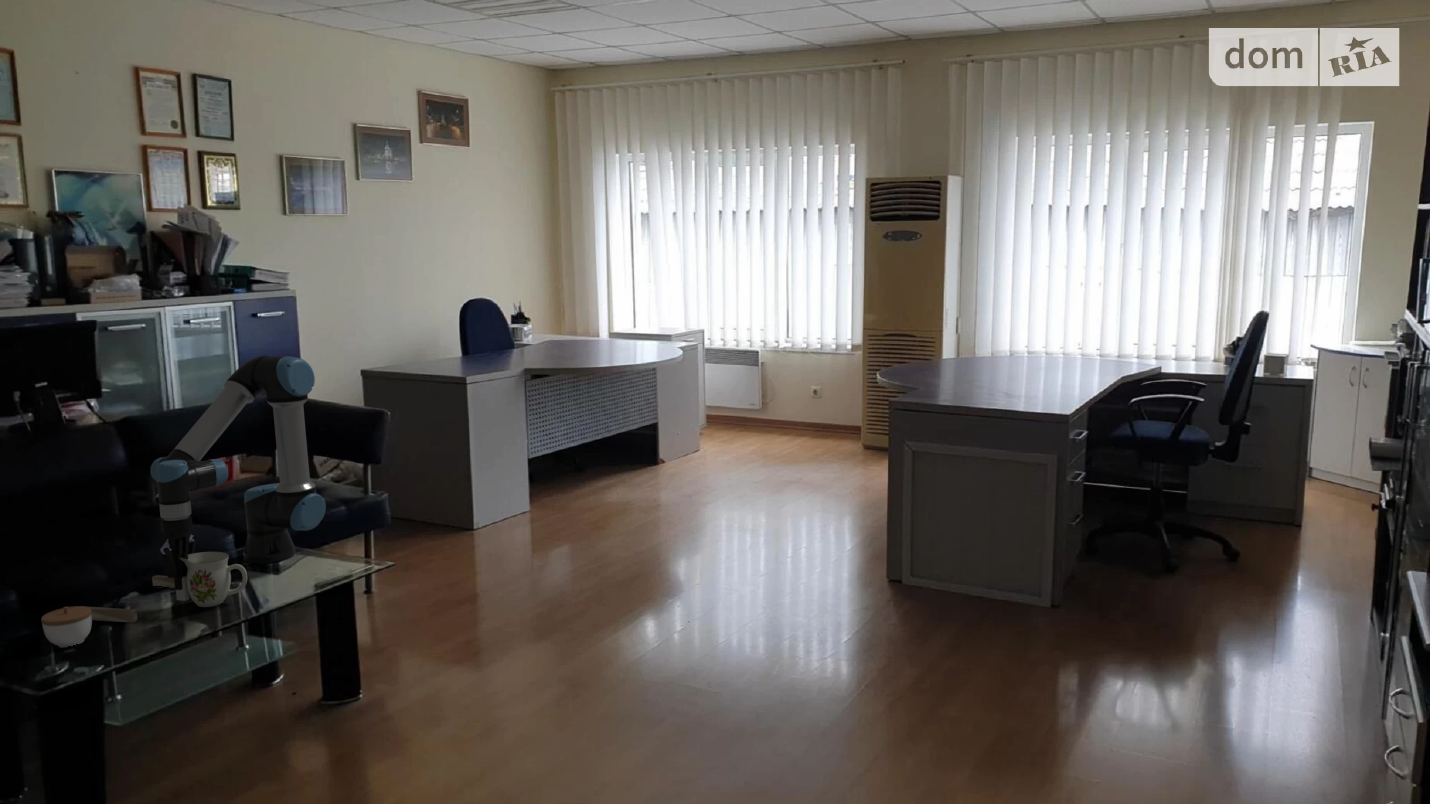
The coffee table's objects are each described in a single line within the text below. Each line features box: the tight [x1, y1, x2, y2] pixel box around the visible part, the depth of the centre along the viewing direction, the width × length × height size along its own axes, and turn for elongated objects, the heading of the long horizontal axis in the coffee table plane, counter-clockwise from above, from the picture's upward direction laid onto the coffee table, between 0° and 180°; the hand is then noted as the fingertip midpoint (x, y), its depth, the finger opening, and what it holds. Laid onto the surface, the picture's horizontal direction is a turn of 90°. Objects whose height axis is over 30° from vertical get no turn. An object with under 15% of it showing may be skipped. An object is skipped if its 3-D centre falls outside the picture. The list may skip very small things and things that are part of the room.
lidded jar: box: [40, 605, 93, 648], centre depth 256 cm, size 11×11×9 cm
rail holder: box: [88, 575, 175, 623], centre depth 283 cm, size 27×15×3 cm, turn 169°
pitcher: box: [180, 551, 248, 608], centre depth 281 cm, size 11×18×14 cm, turn 100°
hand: (183, 599), depth 281 cm, fingers closed
